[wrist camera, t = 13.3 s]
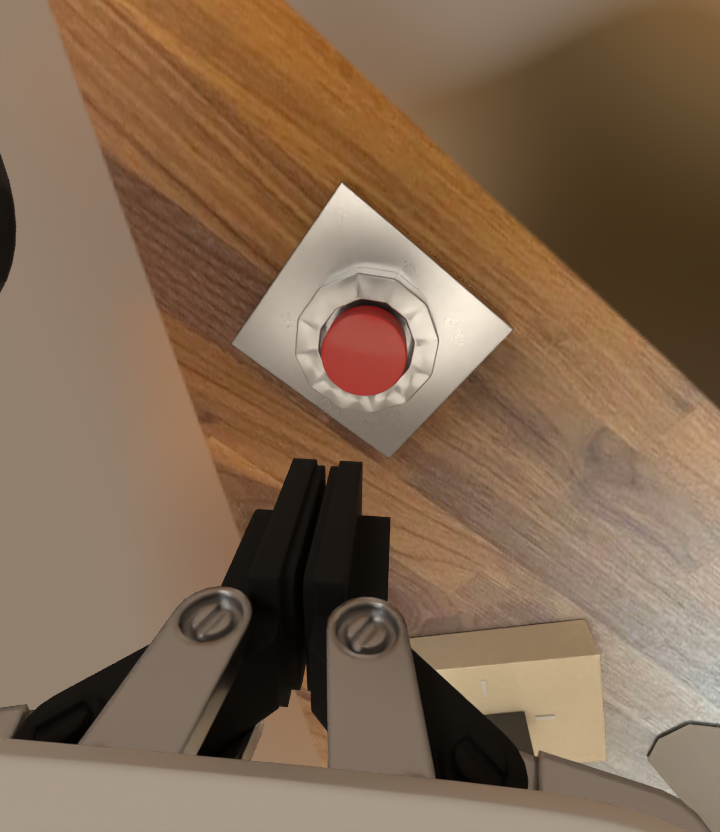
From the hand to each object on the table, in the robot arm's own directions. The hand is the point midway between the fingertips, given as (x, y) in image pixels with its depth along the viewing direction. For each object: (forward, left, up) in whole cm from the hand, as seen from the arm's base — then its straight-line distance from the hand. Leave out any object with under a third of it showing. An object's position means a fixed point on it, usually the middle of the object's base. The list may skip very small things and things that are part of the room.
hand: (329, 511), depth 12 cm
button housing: (0, 0, -17) cm, 17 cm away
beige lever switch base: (+10, -29, -17) cm, 35 cm away
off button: (0, 0, -13) cm, 13 cm away
